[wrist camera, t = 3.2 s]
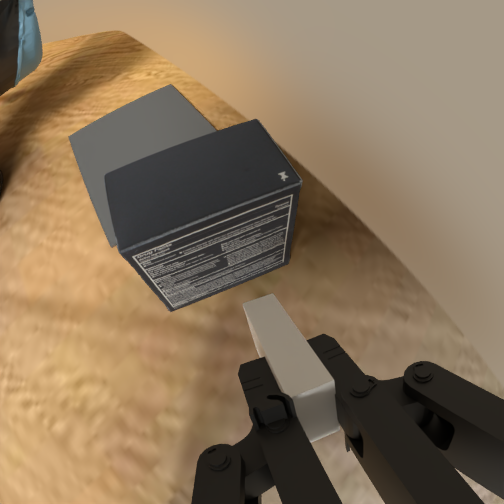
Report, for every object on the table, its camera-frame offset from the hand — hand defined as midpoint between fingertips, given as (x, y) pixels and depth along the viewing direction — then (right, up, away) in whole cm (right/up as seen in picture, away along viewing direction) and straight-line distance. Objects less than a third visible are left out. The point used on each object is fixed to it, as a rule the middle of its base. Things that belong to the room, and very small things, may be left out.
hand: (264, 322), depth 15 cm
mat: (-12, +15, +17) cm, 26 cm away
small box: (-4, +3, +11) cm, 12 cm away
